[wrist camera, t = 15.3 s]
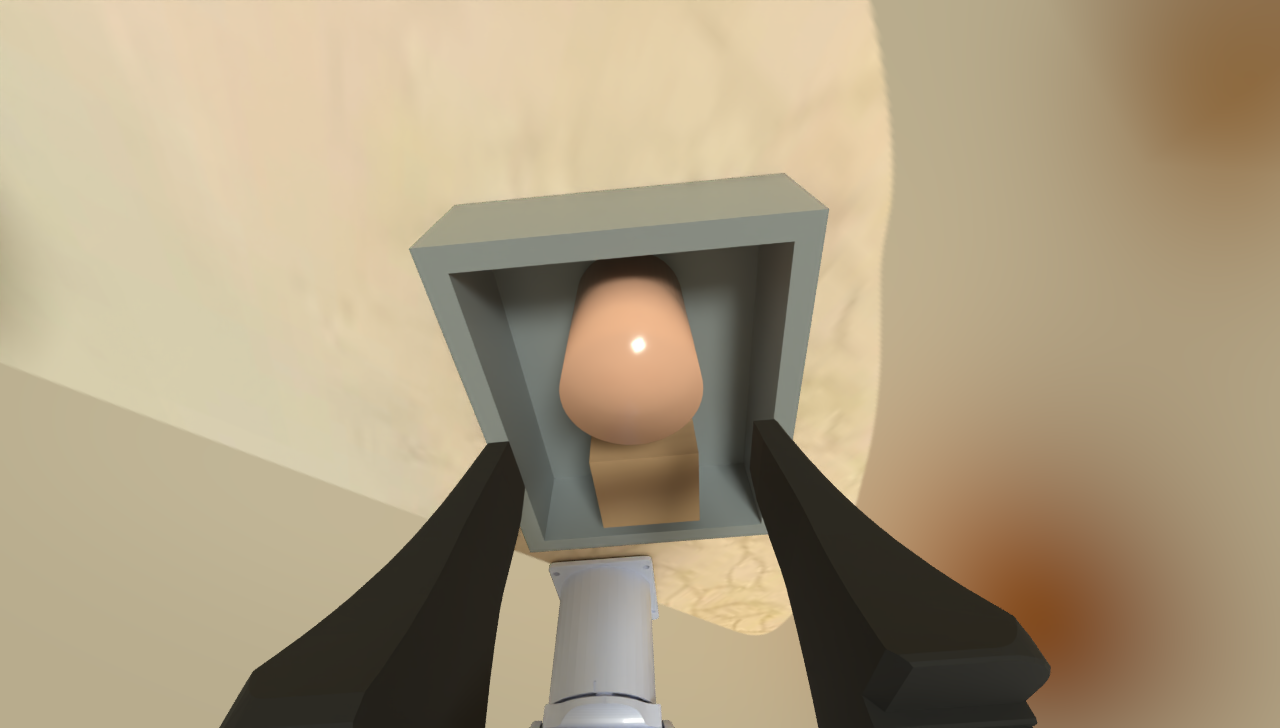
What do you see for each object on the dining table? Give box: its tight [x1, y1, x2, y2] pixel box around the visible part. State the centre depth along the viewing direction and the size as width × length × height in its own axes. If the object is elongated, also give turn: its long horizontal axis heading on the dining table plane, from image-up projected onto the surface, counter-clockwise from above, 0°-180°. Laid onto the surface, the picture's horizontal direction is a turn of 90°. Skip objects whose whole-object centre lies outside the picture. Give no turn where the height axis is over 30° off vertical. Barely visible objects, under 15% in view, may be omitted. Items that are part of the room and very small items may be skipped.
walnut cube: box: [589, 419, 700, 528], centre depth 24 cm, size 5×5×5 cm
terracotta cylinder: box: [559, 255, 703, 445], centre depth 18 cm, size 5×5×7 cm
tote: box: [409, 173, 829, 552], centre depth 22 cm, size 18×14×5 cm
